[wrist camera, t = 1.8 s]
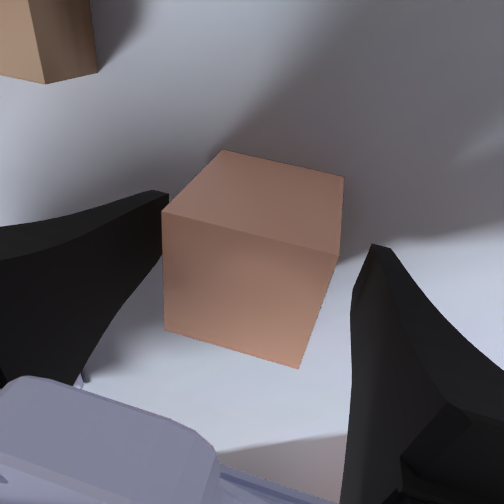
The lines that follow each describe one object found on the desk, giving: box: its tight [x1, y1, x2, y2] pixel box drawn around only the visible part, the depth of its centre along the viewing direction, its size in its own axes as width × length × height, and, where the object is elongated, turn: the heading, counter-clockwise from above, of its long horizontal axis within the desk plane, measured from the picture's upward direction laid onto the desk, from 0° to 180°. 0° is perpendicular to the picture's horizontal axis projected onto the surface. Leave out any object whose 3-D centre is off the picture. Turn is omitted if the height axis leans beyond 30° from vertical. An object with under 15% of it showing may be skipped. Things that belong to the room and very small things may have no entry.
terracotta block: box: [161, 150, 344, 369], centre depth 12 cm, size 4×4×5 cm
